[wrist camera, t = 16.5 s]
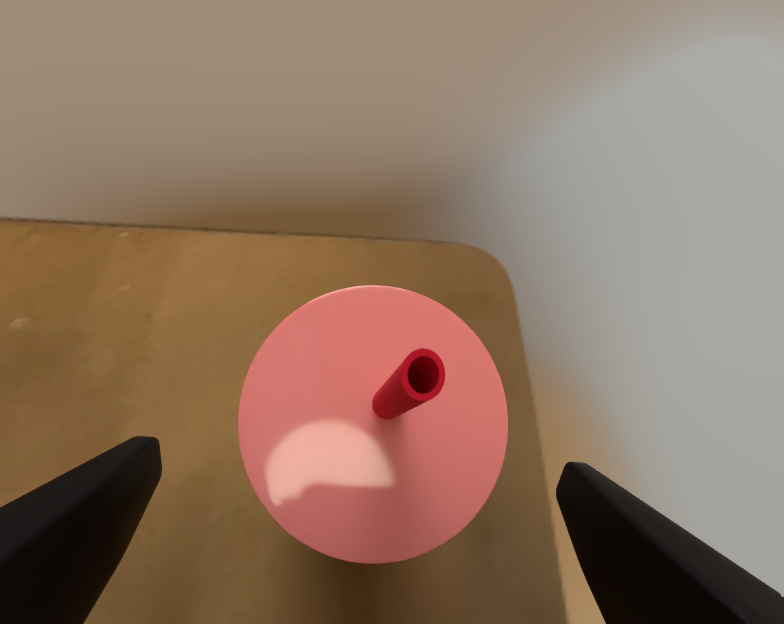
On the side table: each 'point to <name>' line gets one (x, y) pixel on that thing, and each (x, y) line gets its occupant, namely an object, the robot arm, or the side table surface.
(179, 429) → the side table surface
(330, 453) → the cup
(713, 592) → the robot arm
